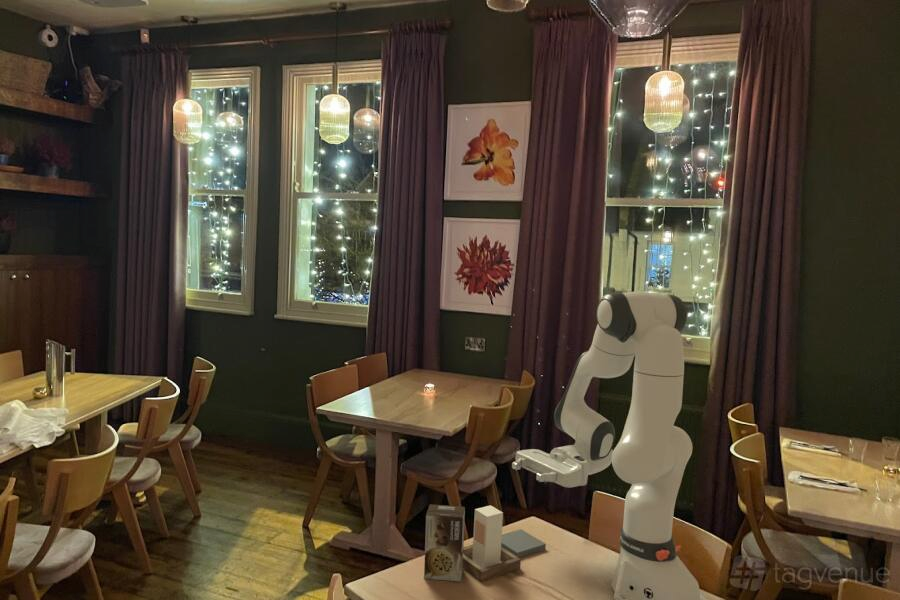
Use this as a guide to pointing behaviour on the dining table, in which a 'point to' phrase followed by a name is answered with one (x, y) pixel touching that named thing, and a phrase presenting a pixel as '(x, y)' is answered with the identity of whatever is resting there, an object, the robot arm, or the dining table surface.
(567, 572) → the dining table surface
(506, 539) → the blue-grey square slab
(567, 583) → the dining table surface
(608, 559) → the dining table surface
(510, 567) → the walnut crate
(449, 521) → the coffee box
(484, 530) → the off-white box
